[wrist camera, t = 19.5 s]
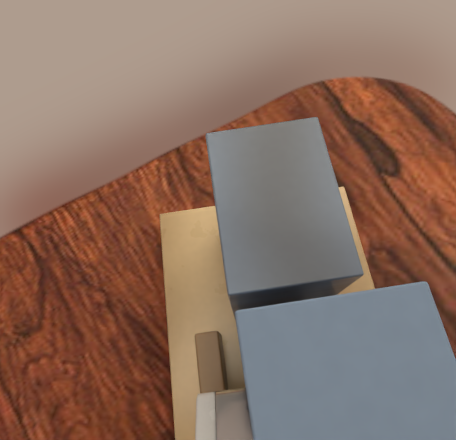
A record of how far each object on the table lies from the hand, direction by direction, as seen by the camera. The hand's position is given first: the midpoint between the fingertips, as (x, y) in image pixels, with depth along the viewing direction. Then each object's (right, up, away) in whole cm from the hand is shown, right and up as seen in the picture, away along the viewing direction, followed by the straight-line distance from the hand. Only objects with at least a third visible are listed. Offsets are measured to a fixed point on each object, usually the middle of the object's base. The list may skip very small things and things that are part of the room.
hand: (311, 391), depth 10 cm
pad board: (0, -2, +7) cm, 7 cm away
